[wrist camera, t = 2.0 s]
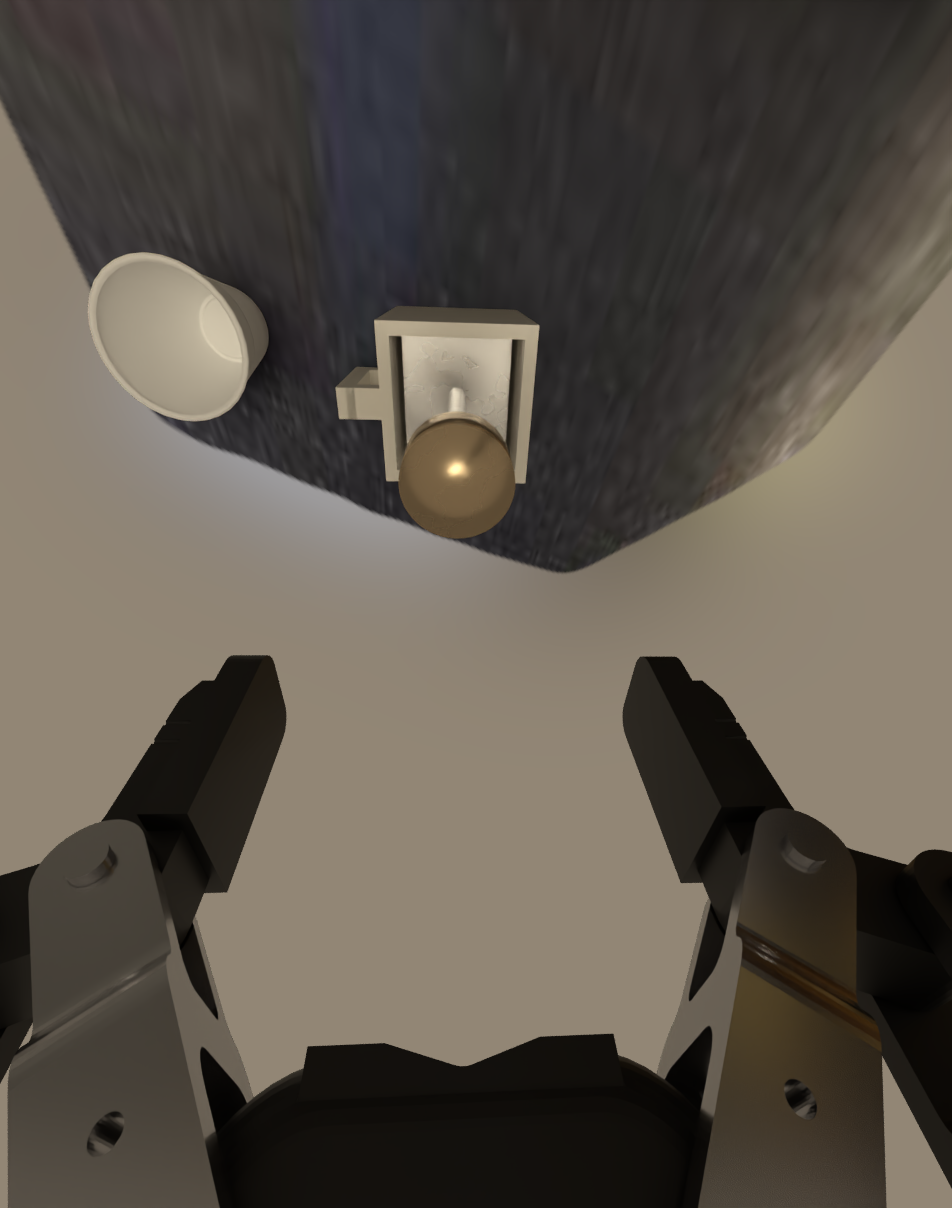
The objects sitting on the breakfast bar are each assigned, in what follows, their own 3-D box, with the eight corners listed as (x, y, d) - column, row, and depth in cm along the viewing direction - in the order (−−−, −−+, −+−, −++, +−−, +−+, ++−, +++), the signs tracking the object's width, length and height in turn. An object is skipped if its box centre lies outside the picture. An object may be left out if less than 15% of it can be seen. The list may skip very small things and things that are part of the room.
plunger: (511, 338, 34) (555, 393, 19) (504, 446, 39) (536, 563, 23) (402, 334, 34) (358, 388, 19) (407, 444, 38) (375, 562, 23)
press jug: (516, 309, 41) (539, 325, 30) (508, 430, 47) (525, 483, 35) (361, 304, 41) (323, 318, 29) (371, 427, 46) (344, 480, 35)
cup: (175, 231, 38) (85, 219, 29) (304, 292, 40) (259, 298, 31) (165, 362, 43) (86, 386, 34) (280, 408, 45) (236, 443, 36)
